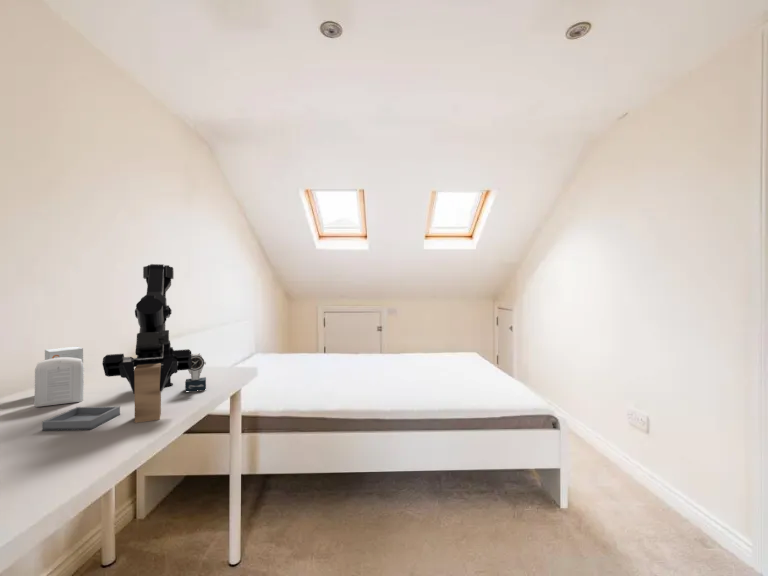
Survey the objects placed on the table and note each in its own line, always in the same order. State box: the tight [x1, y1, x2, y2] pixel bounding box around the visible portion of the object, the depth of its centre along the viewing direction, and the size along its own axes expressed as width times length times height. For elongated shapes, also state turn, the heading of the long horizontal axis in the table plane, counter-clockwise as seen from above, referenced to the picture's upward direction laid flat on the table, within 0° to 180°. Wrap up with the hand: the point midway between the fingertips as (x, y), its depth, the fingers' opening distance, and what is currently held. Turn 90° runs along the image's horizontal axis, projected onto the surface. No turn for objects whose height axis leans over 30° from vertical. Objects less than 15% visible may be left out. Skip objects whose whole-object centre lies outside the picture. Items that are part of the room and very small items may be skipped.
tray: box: [41, 406, 121, 432], centre depth 90 cm, size 10×10×2 cm
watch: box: [184, 353, 207, 393], centre depth 118 cm, size 6×8×11 cm
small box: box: [44, 346, 84, 364], centre depth 116 cm, size 8×6×13 cm
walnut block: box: [134, 363, 162, 424], centre depth 93 cm, size 5×5×12 cm
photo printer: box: [33, 357, 85, 408], centre depth 105 cm, size 10×4×12 cm, turn 123°
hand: (147, 391), depth 92 cm, fingers closed on walnut block, 5 cm apart
